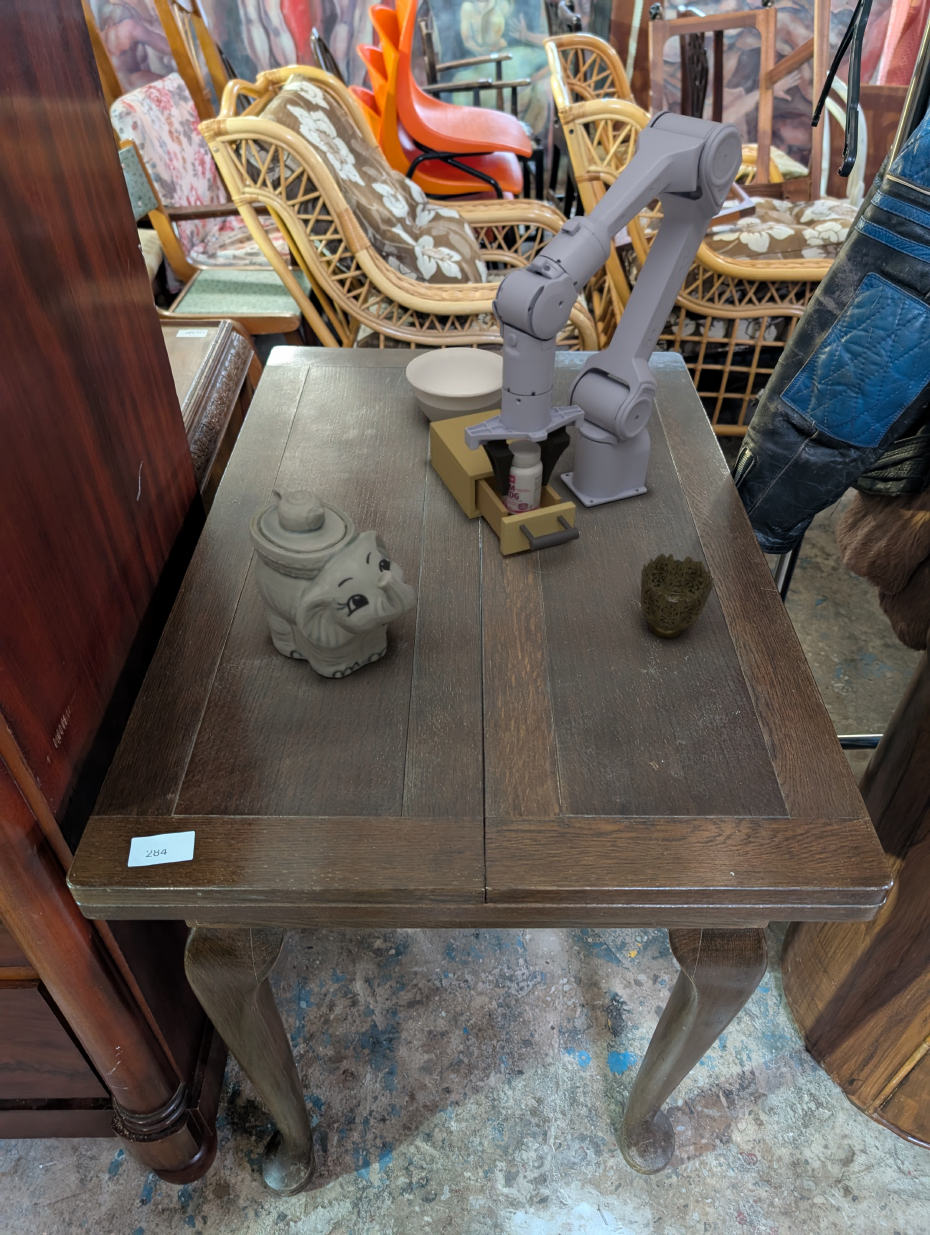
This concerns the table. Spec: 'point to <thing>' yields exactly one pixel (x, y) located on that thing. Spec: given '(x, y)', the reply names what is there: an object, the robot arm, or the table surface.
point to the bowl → (456, 382)
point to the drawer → (526, 519)
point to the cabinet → (460, 458)
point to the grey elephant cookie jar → (325, 583)
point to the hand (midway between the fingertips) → (521, 486)
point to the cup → (673, 593)
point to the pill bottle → (524, 478)
